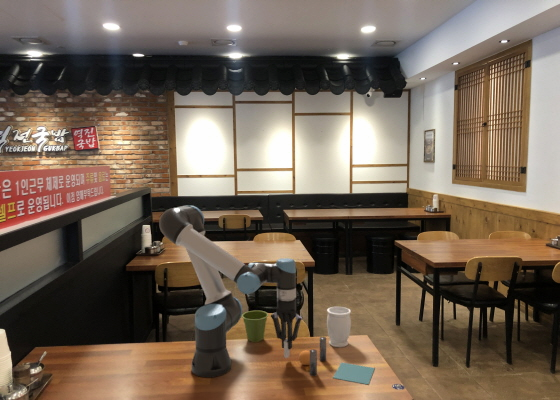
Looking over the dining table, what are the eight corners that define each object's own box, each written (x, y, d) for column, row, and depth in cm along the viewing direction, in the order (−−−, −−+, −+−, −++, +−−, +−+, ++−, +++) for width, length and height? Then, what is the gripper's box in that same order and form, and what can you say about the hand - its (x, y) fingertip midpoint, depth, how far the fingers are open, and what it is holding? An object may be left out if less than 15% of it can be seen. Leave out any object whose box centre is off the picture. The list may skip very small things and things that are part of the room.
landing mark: (332, 378, 156) (332, 377, 156) (341, 362, 168) (341, 362, 168) (368, 384, 151) (368, 384, 151) (374, 368, 163) (374, 368, 163)
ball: (313, 361, 162) (305, 370, 164) (317, 355, 167) (309, 364, 169) (302, 350, 164) (294, 360, 165) (306, 345, 169) (298, 354, 170)
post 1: (308, 375, 158) (308, 351, 157) (311, 372, 160) (311, 348, 160) (315, 376, 157) (315, 352, 156) (317, 373, 159) (317, 350, 159)
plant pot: (260, 332, 199) (260, 308, 198) (273, 341, 189) (273, 316, 188) (237, 337, 193) (237, 313, 192) (249, 346, 183) (248, 321, 182)
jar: (350, 349, 180) (350, 315, 179) (325, 347, 182) (325, 313, 181) (351, 339, 190) (351, 306, 189) (327, 337, 192) (328, 305, 191)
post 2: (318, 360, 170) (318, 338, 169) (320, 358, 172) (320, 336, 171) (325, 361, 169) (325, 339, 168) (326, 359, 171) (326, 337, 170)
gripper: (267, 299, 166) (268, 357, 168) (298, 302, 161) (299, 363, 163) (274, 293, 173) (275, 349, 175) (305, 297, 168) (305, 354, 170)
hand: (287, 356), depth 169 cm, fingers closed
